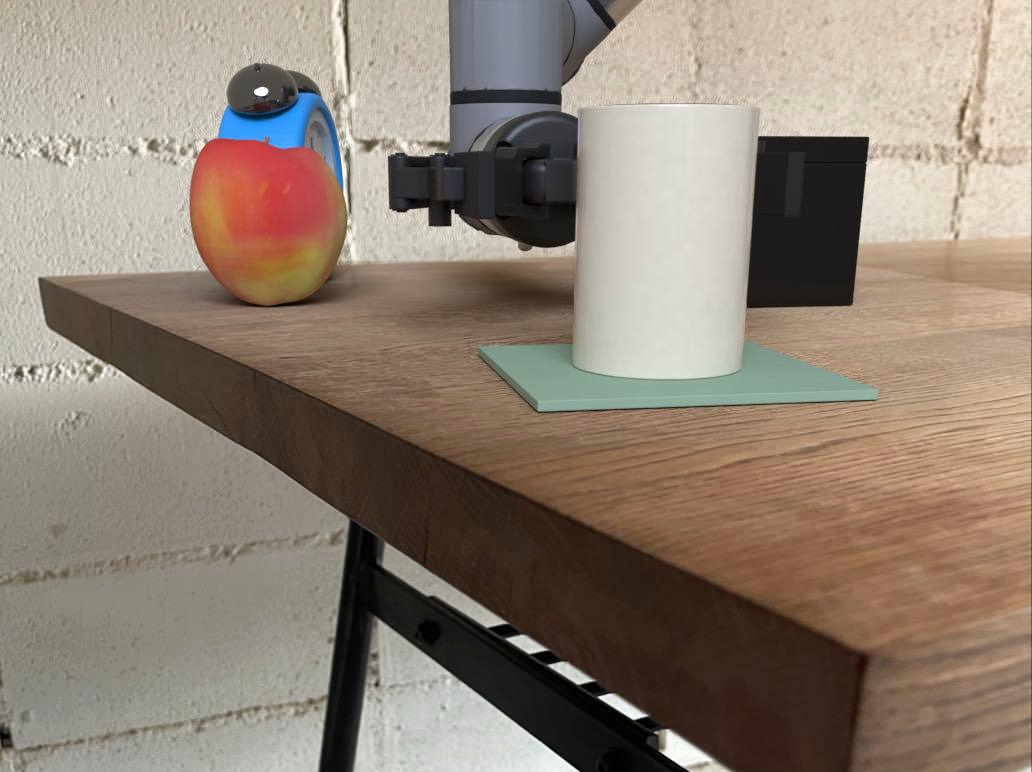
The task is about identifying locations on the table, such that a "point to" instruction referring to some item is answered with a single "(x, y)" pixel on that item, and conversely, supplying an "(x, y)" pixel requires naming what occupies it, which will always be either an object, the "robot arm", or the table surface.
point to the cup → (663, 238)
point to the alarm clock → (280, 112)
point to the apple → (266, 219)
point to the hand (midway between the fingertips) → (644, 185)
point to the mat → (665, 382)
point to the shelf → (812, 228)
